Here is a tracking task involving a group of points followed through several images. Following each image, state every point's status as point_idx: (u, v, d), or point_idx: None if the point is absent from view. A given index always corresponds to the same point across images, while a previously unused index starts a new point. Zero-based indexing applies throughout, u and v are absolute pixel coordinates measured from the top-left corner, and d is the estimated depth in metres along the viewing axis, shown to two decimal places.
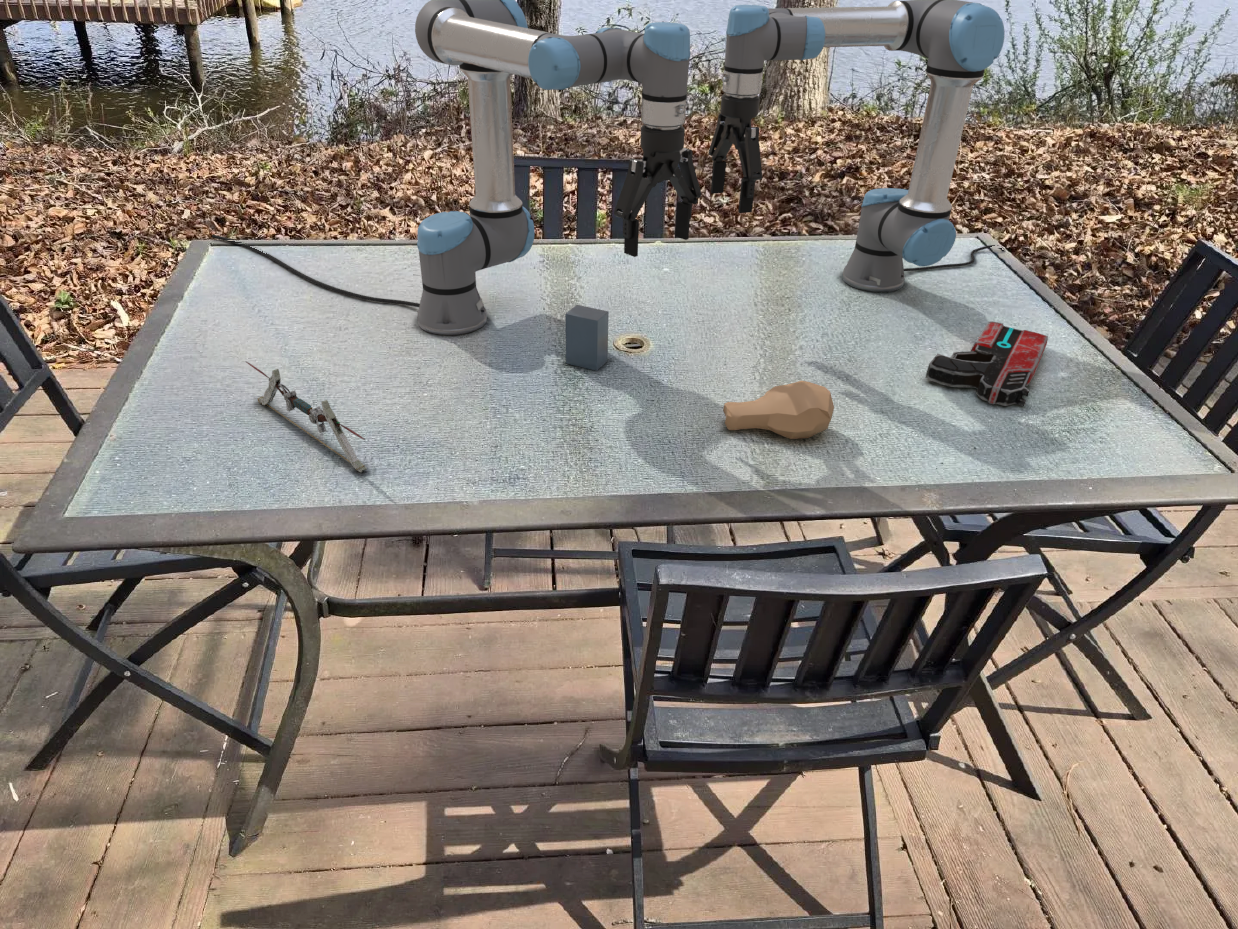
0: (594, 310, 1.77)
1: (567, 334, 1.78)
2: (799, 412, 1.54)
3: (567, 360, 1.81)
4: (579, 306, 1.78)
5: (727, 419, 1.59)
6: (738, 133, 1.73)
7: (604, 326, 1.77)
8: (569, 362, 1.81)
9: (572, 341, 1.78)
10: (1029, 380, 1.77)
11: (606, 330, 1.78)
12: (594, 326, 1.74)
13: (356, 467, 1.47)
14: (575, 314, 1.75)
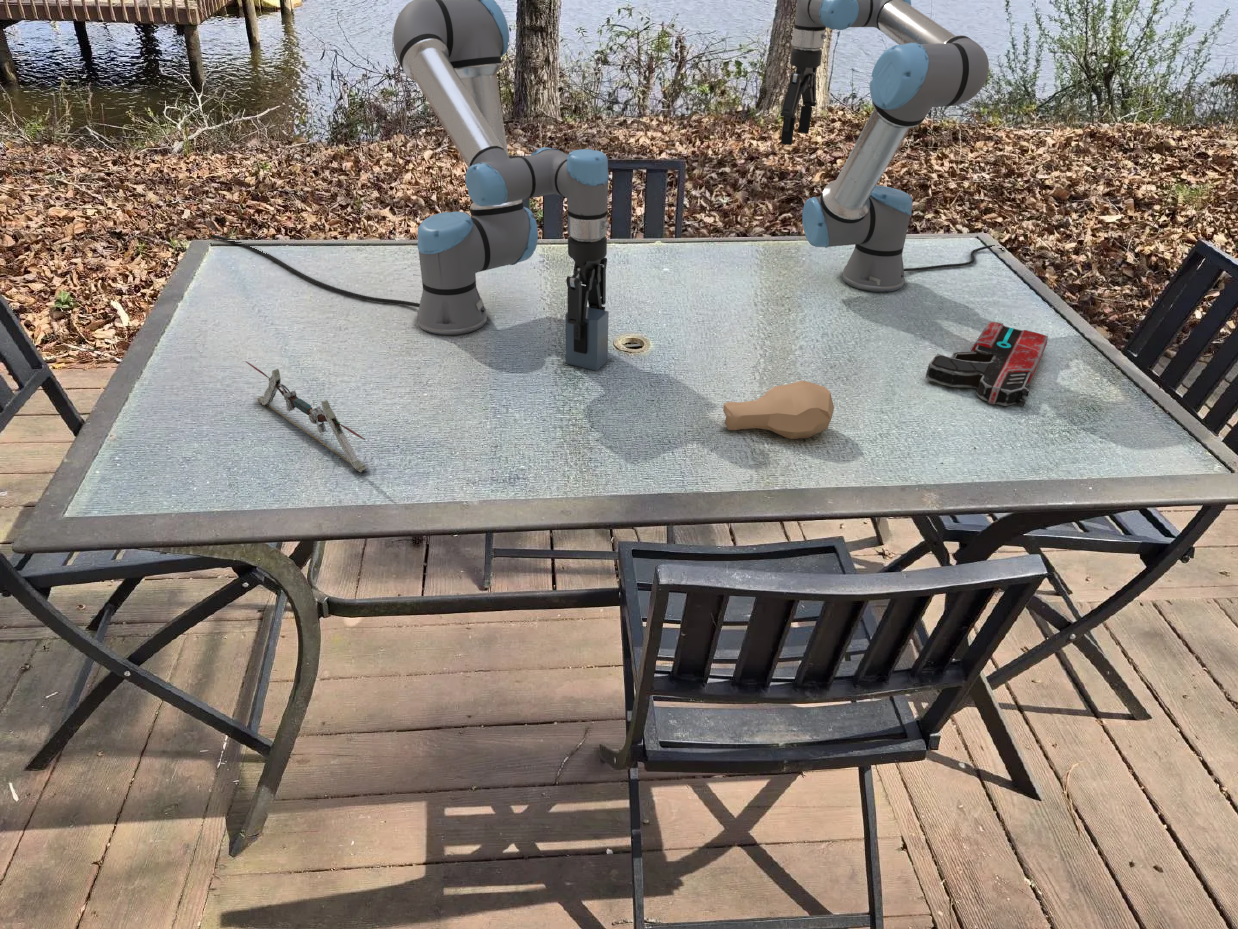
0: (594, 309, 1.77)
1: (567, 334, 1.78)
2: (799, 412, 1.54)
3: (567, 360, 1.81)
4: None
5: (727, 419, 1.59)
6: None
7: (604, 326, 1.77)
8: (569, 362, 1.81)
9: (572, 341, 1.78)
10: (1029, 380, 1.77)
11: (606, 330, 1.78)
12: (594, 326, 1.74)
13: (356, 467, 1.47)
14: None
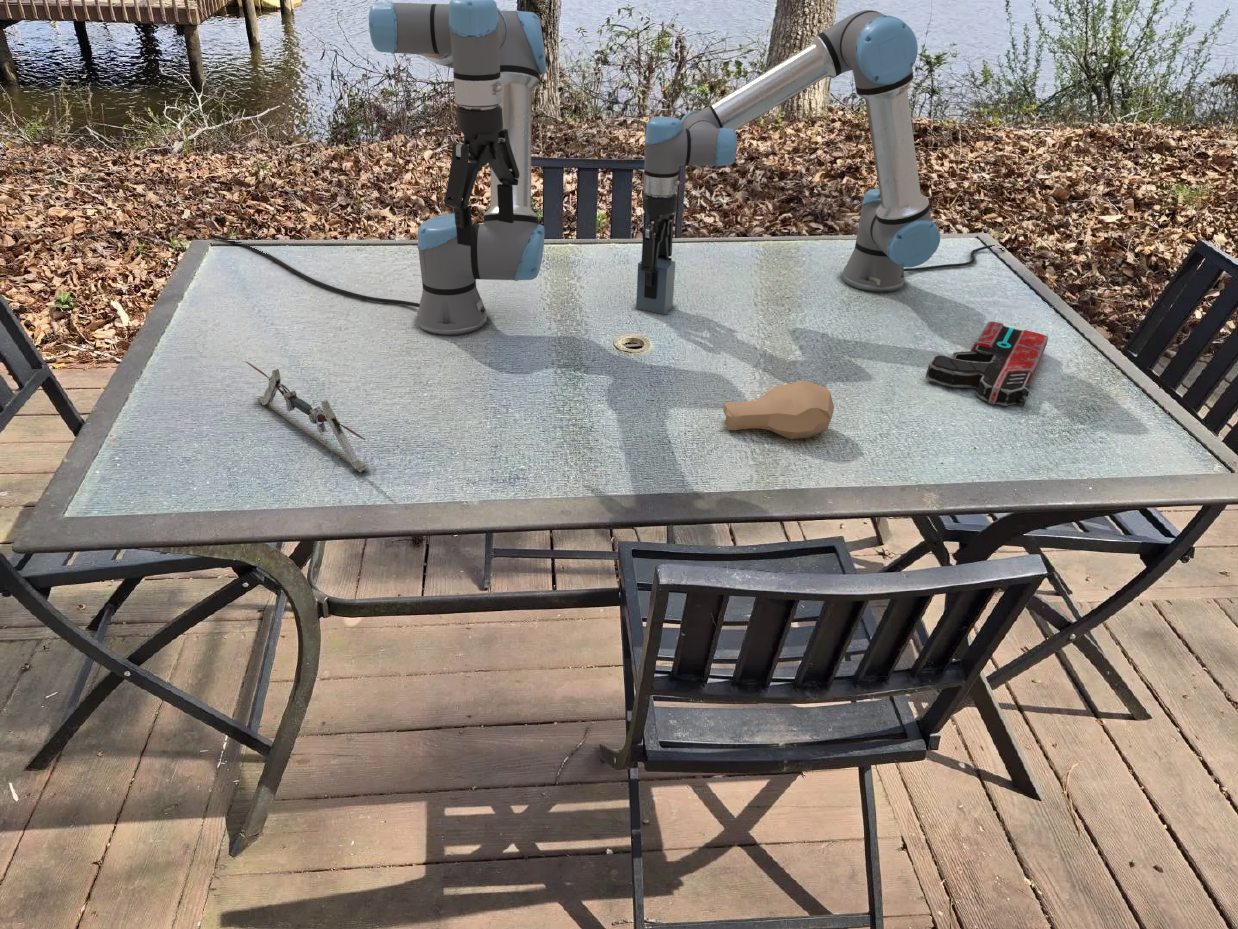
0: (662, 260, 2.01)
1: (638, 281, 2.02)
2: (799, 412, 1.54)
3: (637, 305, 2.05)
4: None
5: (727, 419, 1.59)
6: None
7: (672, 274, 2.01)
8: (639, 307, 2.05)
9: (643, 288, 2.02)
10: (1029, 380, 1.77)
11: (673, 278, 2.02)
12: (664, 274, 1.98)
13: (356, 467, 1.47)
14: None
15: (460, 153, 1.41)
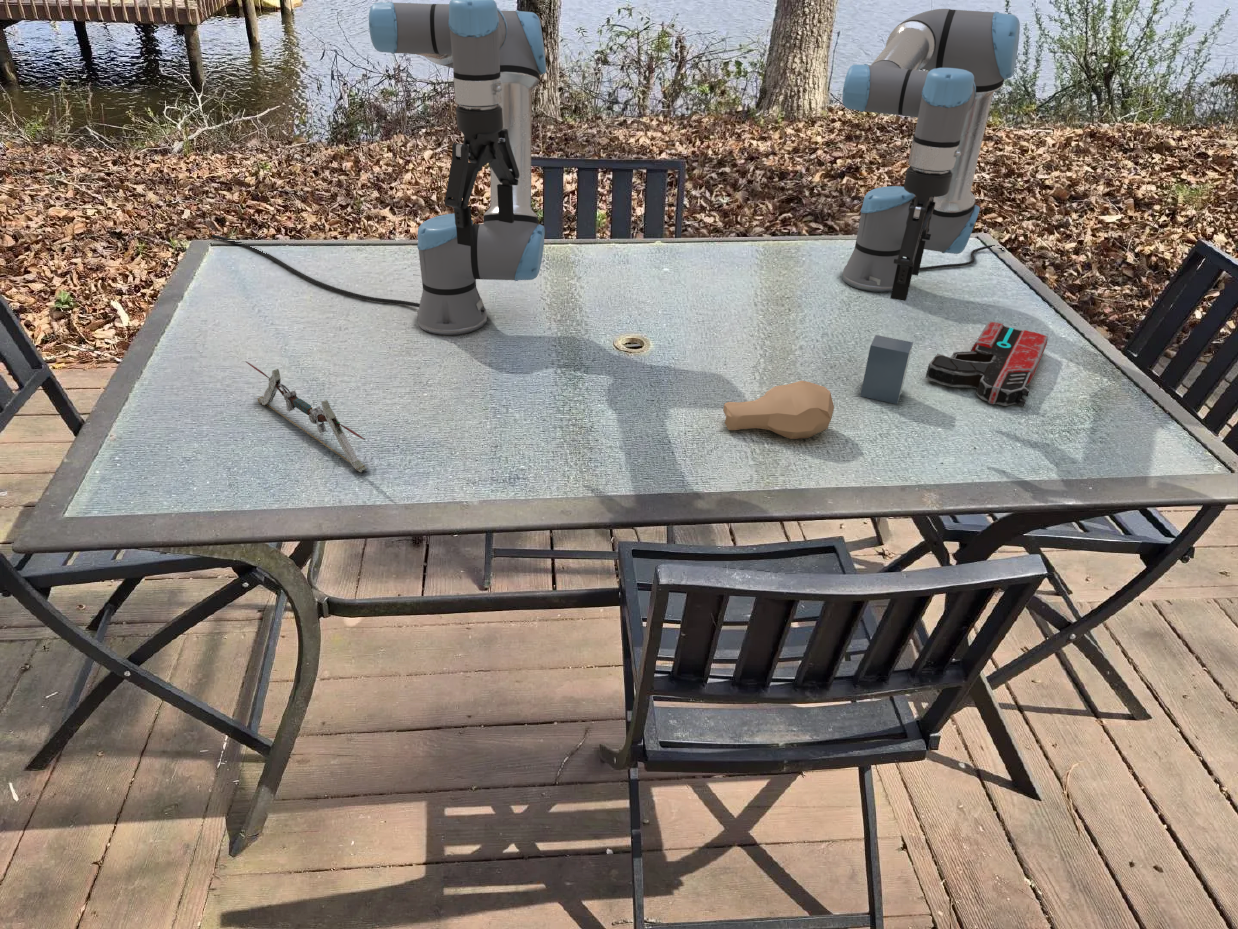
0: (897, 340, 1.69)
1: (868, 366, 1.69)
2: (799, 412, 1.54)
3: (863, 393, 1.72)
4: (879, 336, 1.70)
5: (727, 419, 1.59)
6: None
7: (909, 358, 1.68)
8: (865, 395, 1.72)
9: (873, 373, 1.69)
10: (1029, 380, 1.77)
11: (908, 362, 1.70)
12: (904, 358, 1.65)
13: (356, 467, 1.47)
14: (881, 345, 1.67)
15: (460, 153, 1.41)
